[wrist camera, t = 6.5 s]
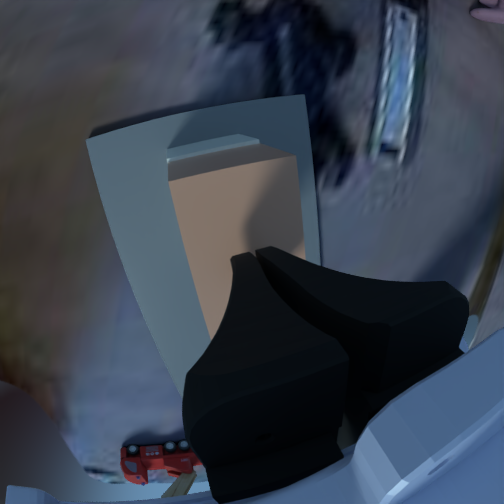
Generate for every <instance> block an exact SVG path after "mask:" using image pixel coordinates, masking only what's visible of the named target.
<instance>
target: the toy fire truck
mask: <svg viewBox="0 0 504 504" xmlns="http://www.w3.org/2000/svg"><path fill="white" fill-rule="evenodd" d="M196 465H202V463H201V462H200V460H199V459H198V458H197V456H196V455H195V453H194V452H193V451H192V449H191V448H190V446H189V445H188V442H187V440H181V441H180V442H179V443H178V446H176V444H175V443H174V442H172V441H168V442H166V443H165V445H164V446H162V445H152V446H141V447H140V448H138V447H137V445H134V444H131V445H129V446H128V447H127V448H126V447H123V448H121V462H120V466H121V470H122V473H123V475H124V477H125V478H126V479H127V480H128V481H130V482H132V483H135V484H142V485H143V486H144V485H145V484H148V475H147V470H157V469H167V472H168V475H169V476H173V477H177V479H176V480H175V482H174V483H173V484H172V485H171V486H170V487H169V488H168V490H167V491H166V492H165V493H164V494H163V495H162V496H161V498H167V497H174V496H181V495H187V493H188V491H189V490H190V488H191V486H192V484H193V482H194V480H195V478H196V477H197V474H196V471H194V470H193V466H196Z"/></svg>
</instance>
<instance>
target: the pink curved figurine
mask: <svg viewBox="0 0 504 504" xmlns="http://www.w3.org/2000/svg"><path fill="white" fill-rule="evenodd" d="M479 1H480V3H481V4H482V5H483V6H485V7H487V8H476V9H473V10H471V11H470V14H471V16H473V17H474V18H476V19H479V20H482V21H487V22H494V23H501V24H504V0H479Z"/></svg>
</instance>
